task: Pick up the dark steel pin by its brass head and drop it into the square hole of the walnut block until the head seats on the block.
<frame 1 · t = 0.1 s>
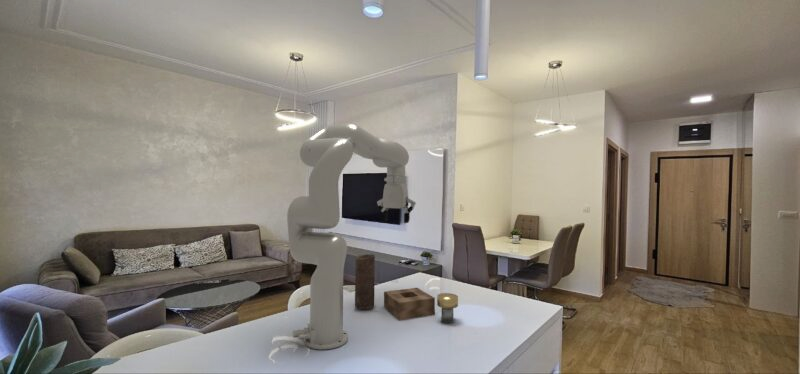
hand: (395, 222, 143), 31 cm above the table, tool pointing down, fingers open, 9 cm apart
pin: (447, 321, 118), on the table
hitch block: (408, 311, 128), on the table
candle: (364, 308, 130), on the table
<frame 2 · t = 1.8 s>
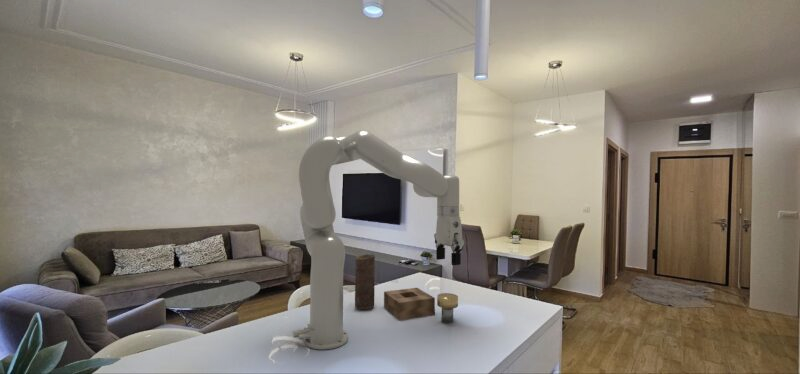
hand: (448, 261, 119), 20 cm above the table, tool pointing down, fingers open, 9 cm apart
nothing on the table moved.
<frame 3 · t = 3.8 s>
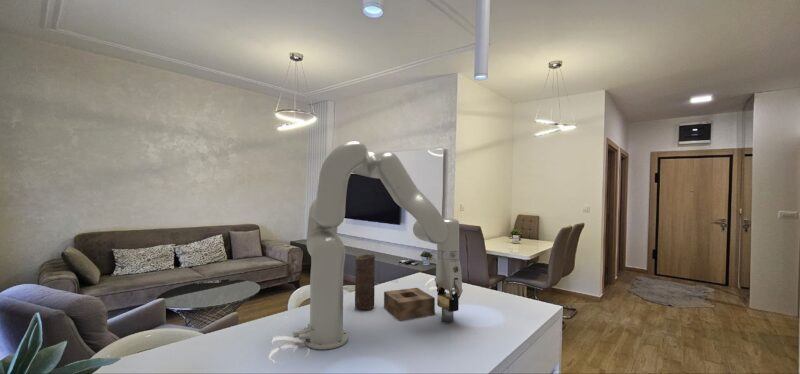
hand: (447, 306, 118), 5 cm above the table, tool pointing down, fingers closed on pin, 7 cm apart
pin: (447, 321, 118), on the table, touching gripper
everything else where it was.
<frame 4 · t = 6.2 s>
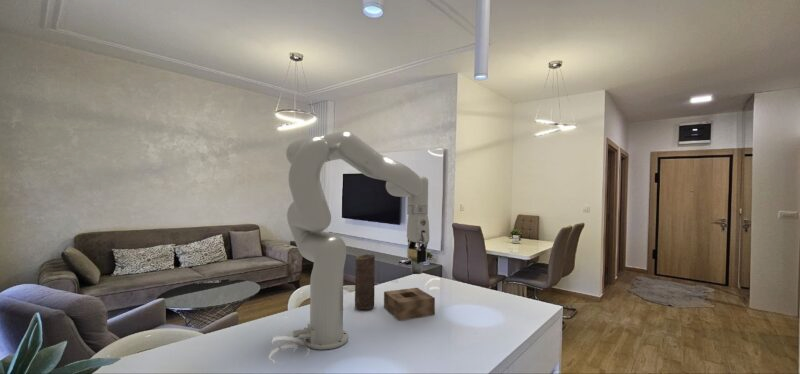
hand: (416, 259, 126), 19 cm above the table, tool pointing down, fingers closed on pin, 7 cm apart
pin: (416, 272, 126), point 15 cm above the table, touching gripper
everything else where it was.
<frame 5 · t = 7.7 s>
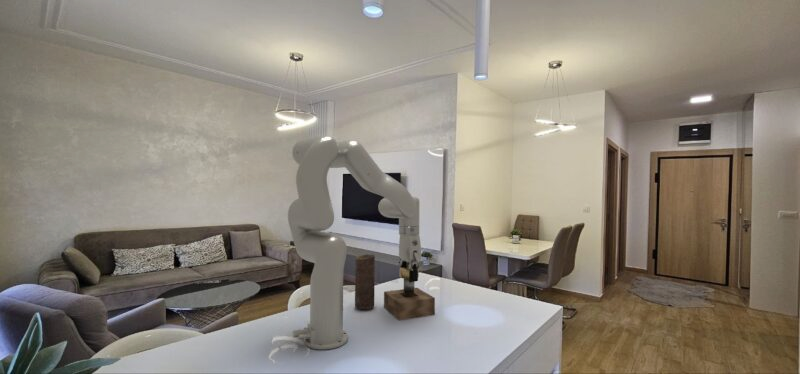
hand: (408, 278, 128), 12 cm above the table, tool pointing down, fingers closed on pin, 7 cm apart
pin: (409, 291, 128), point 7 cm above the table, touching gripper
everything else where it was.
when the fingers open (8 cm above the table, at t = 9.1 s): pin drops 2 cm, resting on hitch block.
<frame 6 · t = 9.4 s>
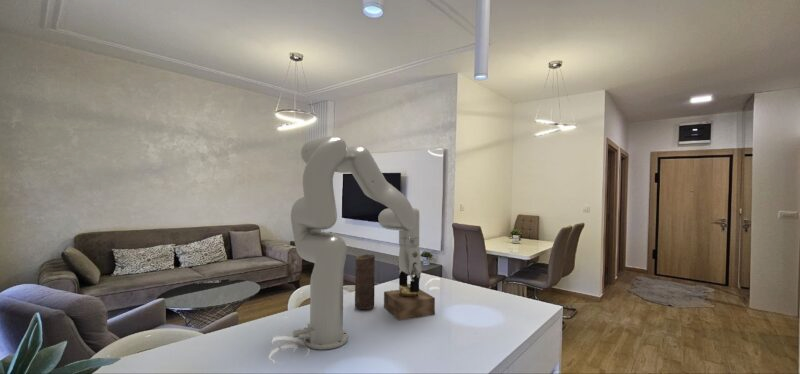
hand: (408, 288, 128), 8 cm above the table, tool pointing down, fingers open, 9 cm apart
pin: (408, 309, 128), resting on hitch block
everything else where it was.
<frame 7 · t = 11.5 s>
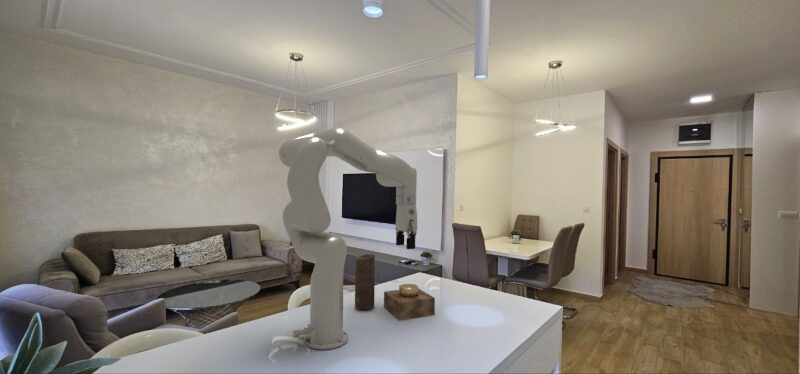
hand: (405, 246, 129), 23 cm above the table, tool pointing down, fingers open, 9 cm apart
nothing on the table moved.
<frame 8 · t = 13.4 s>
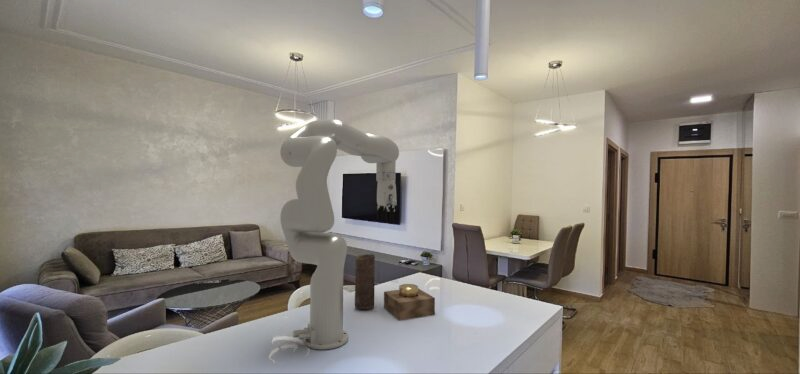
hand: (385, 221, 136), 32 cm above the table, tool pointing down, fingers open, 9 cm apart
nothing on the table moved.
at the end: pin 0.1 cm off-centre on the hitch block, point 0.5 cm above the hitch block's base; pin tilted 0°; the gripper is holding nothing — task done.
